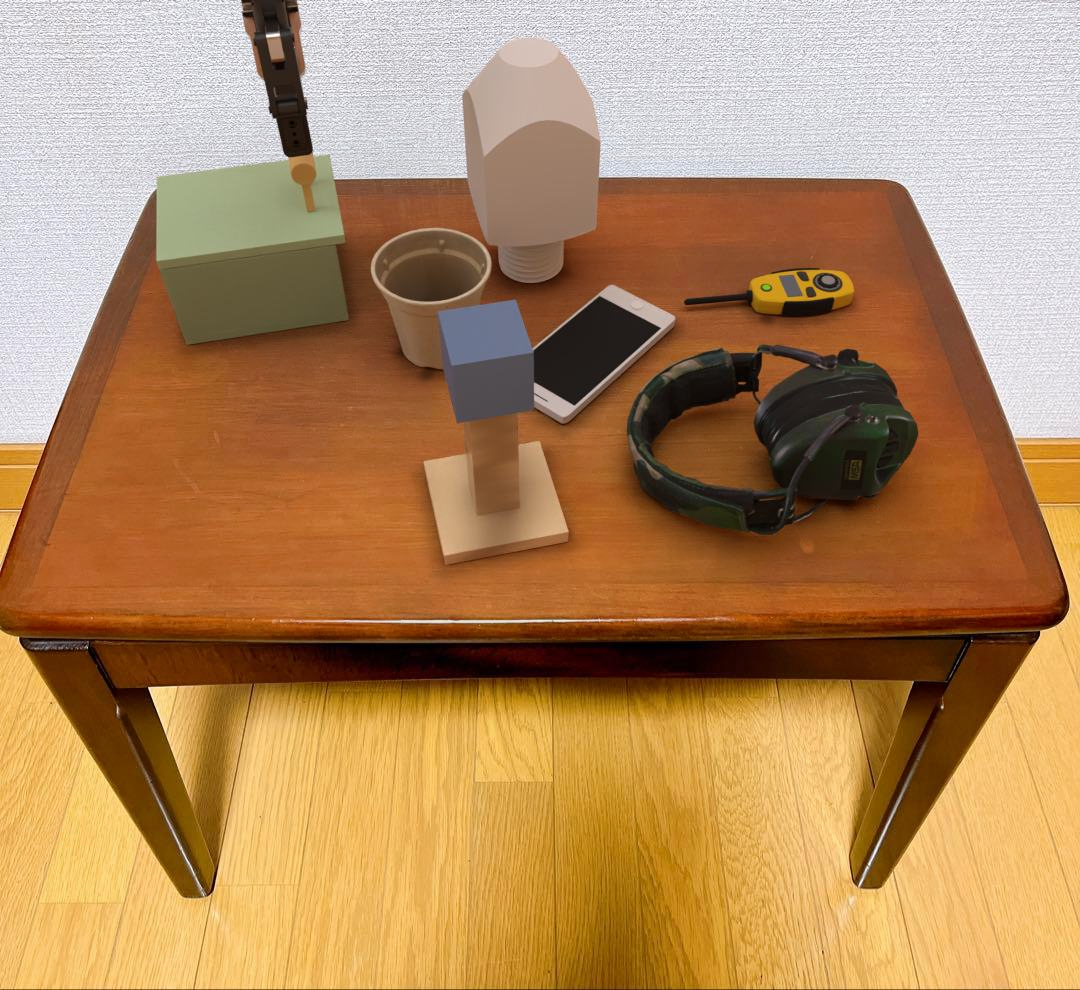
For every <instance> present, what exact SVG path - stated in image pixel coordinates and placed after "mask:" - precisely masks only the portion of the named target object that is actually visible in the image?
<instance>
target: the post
mask: <svg viewBox="0 0 1080 990" xmlns="http://www.w3.org/2000/svg"><path fill="white" fill-rule="evenodd" d="M518 414H519V413H515V414H509V415H503V416H497V417H492V418H486V419H480V420H474V421H468V422H462V423H463V434H464V447H465V448H464V449H465V453H462V454H457V455H451V456H450V455H449V456H446V457H440V458H433V459H428V460H423V470H424V474H425V479H426V484H427V487H428V493H429V498H430V503H431V507H432V512H433V516H434V521H435V525H436V526H435V527H436V530H437V534H438V539H439V544H440V548H441V553H442V557H443V563H444V565H445V566H448V565H452V564H459V563H463V562H468V561H474V560H480V559H485V558H490V557H494V556H495V557H496V556H499V555H505V554H510V553H515V552H520V551H526V550H532V549H536V548H537V549H538V548H541V547H547V546H553V545H558V544H562V543H563V544H564V543H568V542H569V535H570V534H569V533H570V532H569V528H568V524H567V522H566V519H565V515H564V512H563V509H562V506H561V503H560V499H559V497H558V493H557V491H556V487H555V484H554V480H553V478H552V474H551V472H550V468H549V465H548V462H547V459H546V455H545V453H544V450H543V447H542V444H541V441H540V440H536V441H530V442H525V443H519V427H518V426H519V419H518V417H519V416H518Z"/></svg>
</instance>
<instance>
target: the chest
mask: <svg viewBox="0 0 1080 990" xmlns="http://www.w3.org/2000/svg"><path fill="white" fill-rule="evenodd" d="M341 270H342V269H341V265H340V259H339V254H338V248H337V244H335V245H328V246H321V247H314V248H307V249H300V250H293V251H286V252H279V253H272V254H265V255H258V256H251V257H244V258H237V259H230V260H223V261H216V262H209V263H202V264H195V265H188V266H181V267H174V268H167V269H159V272H160V275H161V279H162V281H163V284H164V286H165V289H166V292H167V294H168V298H169V300H170V304H171V306H172V309H173V311H174V314H175V317H176V319H177V322H178V325H179V328H180V330H181V334H182V336H183V339H184V341H185V344H186V345H187V346H189V345H196V344H202V343H209V342H215V341H222V340H227V339H233V338H240V337H248V336H254V335H260V334H261V335H262V334H268V333H275V332H279V331H280V332H281V331H286V330H287V331H288V330H293V329H299V328H300V329H301V328H306V327H313V326H319V325H326V324H332V323H339V322H346V321H349V320H350V316H349V311H348V304H347V299H346V294H345V288H344V282H343V277H342V272H341Z"/></svg>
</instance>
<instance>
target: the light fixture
mask: <svg viewBox="0 0 1080 990" xmlns="http://www.w3.org/2000/svg"><path fill="white" fill-rule="evenodd" d="M461 94H462V95H461V98H462V99H461V100H462V114H463V115H462V116H463V131H464V144H465V146H464V147H465V162H466V163H465V164H466V176H467V185H468V190H469V193H470V197H471V200H472V204H473V208H474V211H475V215H476V218H477V221H478V223H479V226H480V229H481V232H482V234H483V237H484V239H485V241H486V243H487V245H488V246H496V247H497V250H498V251H497V252H498V253H497V254H498V255H497V256H498V263H499V267H500V270H501V272H502V273H503V274H504V275H505V276H506V277H507V278H509V279H511V280H514V281H515V282H516V281H517V282H519V283H524V284H537V283H542V282H546V281H547V280H550V279H552V278H555V277H556V276H557V275H558V274H559V273H560V272H561V270H562V268H563V267H564V248H565V247H564V245H565V244H564V243H565V242H564V241H566V240H571V239H573V238H576V237H580V236H583V235H585V234H587V233H590V232H593V231H595V230H597V221H598V201H599V183H600V181H599V180H600V161H601V144H602V143H601V142H602V141H601V135H600V129H599V125H598V120H597V114H596V109H595V105H594V100H593V99H592V97H591V95H590V93H589V91H588V90H587V88H586V86H585V84H584V82H583V81H582V79H581V77H580V76H579V74H578V72H577V71H576V69H575V68H574V67H573V65H572V63H571V62H570V61H569V59H568V58H567V57H566V56H565V55H564V53H563V52H562V51H561V50H560V49H559V48H558V47H557V46H556V45H555V44H554V43H552V42H551V41H549V40H547V39H543V38H540V37H539V38H537V37H520V38H515V39H513V40H509V41H507V42H505V43H504V44H503V45H502V46H500V48H499V49H498V50H497V51H496V52H495V54H494V55H493V56H492V57H491V59H490V60H489V61H488V62H487V63H486V64H485V65H484V66H483V68H482V69H481V70H480V71H479V72H478V74H477V75H476V76H475V77H474V78H473V80H472V81H471V82H470V84H468V86H467V87H466V88H465V89H464V90H463V92H462V93H461Z"/></svg>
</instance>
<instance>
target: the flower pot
mask: <svg viewBox="0 0 1080 990" xmlns="http://www.w3.org/2000/svg"><path fill="white" fill-rule="evenodd" d="M491 273H492V257H491V255H490V252H489V250H488V249H487V247H486V246H485V245H484V244H483V243H482V242H481V241H480V240H478V239H476V238H475V237H473V236H472V235H470V234H469V233H468V234H467V233H464V232H463V231H459V230H456V229H452V228H444V227H425V228H423V227H422V228H419V229H413V230H409V231H407V232H404V233H401V234H399V235H397V236H395V237H393V238H391V239H389V240H387V241H386V242H385V243H384V244H382V245H381V246H380V247H379V249H378V250H377V251H376V252H375V254H373V256H372V260H371V263H370V274H371V277H372V280H373V283H374V284H375V286H376V287H377V288H378V290H379V291H380V293H381V294H382V296H383V298H384V299H385V300H386V302H387V305H388V308H389V311H390V315H391V318H392V321H393V324H394V327H395V330H396V333H397V336H398V340H399V343H400V347H401V350H402V352H403V355H404V356H405V358H406V360H408V361H409V362H411V363H412V364H414V365H415V366H417V367H420V368H432V369H436V370H443V361H442V351H441V342H440V332H439V322H438V311H445V310H451V309H458V308H464V307H470V306H477V305H481V298H482V293H483V291H484V290H485V286H486V283H487V282H488V280H489V278H490V275H491Z"/></svg>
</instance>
